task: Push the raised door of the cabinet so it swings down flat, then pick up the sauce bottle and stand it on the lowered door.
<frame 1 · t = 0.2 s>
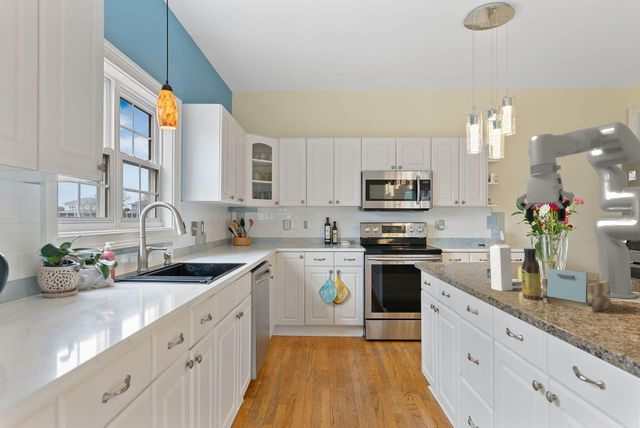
hand: (545, 221, 115), 31 cm above the table, tool pointing down, fingers open, 9 cm apart
sauce bottle: (531, 298, 133), on the table
coffee box: (499, 284, 164), on the table
cabinet: (576, 304, 121), on the table
door: (565, 284, 119), point 8 cm above the table, hinge at 97.0°
milk: (501, 289, 151), on the table
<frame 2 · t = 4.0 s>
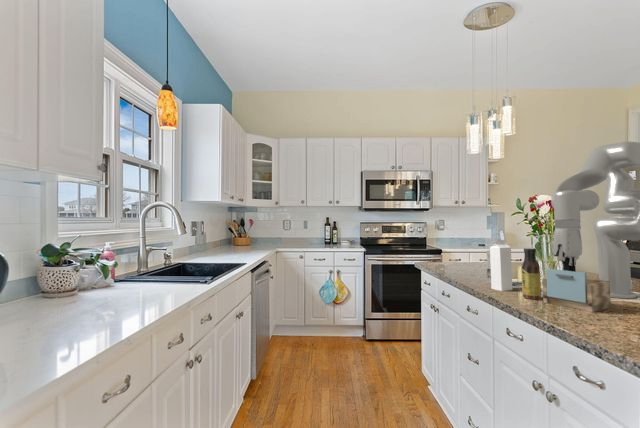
hand: (569, 276, 120), 11 cm above the table, tool pointing down, fingers closed
door: (565, 284, 119), point 8 cm above the table, hinge at 91.8°, touching gripper
everything else where it was.
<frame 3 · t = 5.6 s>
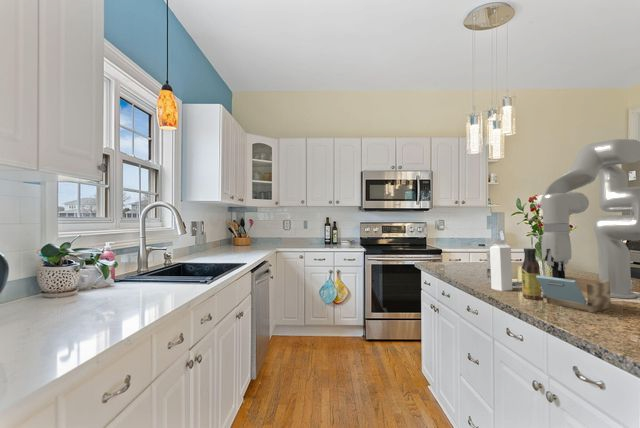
hand: (558, 281, 117), 9 cm above the table, tool pointing down, fingers closed
door: (559, 289, 117), point 6 cm above the table, hinge at 52.2°, touching gripper
everything else where it was.
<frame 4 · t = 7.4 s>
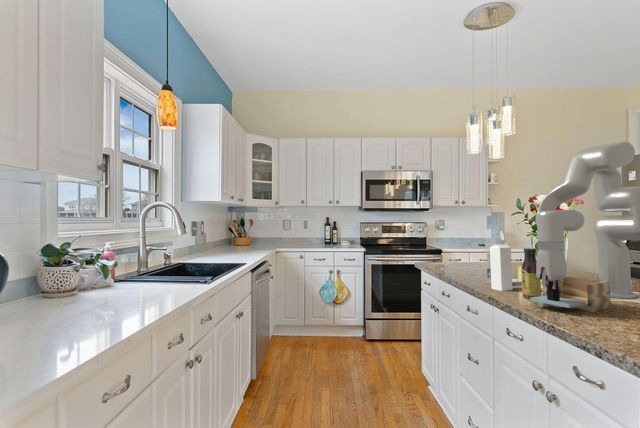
hand: (553, 300, 116), 3 cm above the table, tool pointing down, fingers closed
door: (557, 302, 117), point 2 cm above the table, hinge at 2.7°, touching gripper
everything else where it was.
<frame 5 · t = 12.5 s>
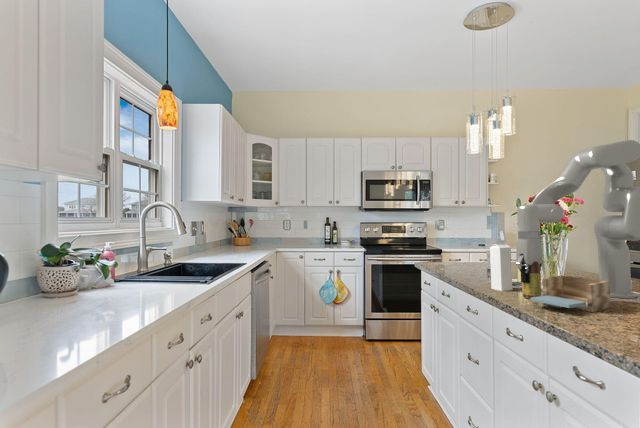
hand: (530, 281, 133), 7 cm above the table, tool pointing down, fingers closed on sauce bottle, 6 cm apart
sauce bottle: (531, 298, 133), on the table, touching gripper
door: (557, 302, 117), point 2 cm above the table, hinge at 2.7°
everything else where it was.
when the fingers open (10 cm above the table, at t = 18.2 s): sauce bottle stays where it is, resting on door.
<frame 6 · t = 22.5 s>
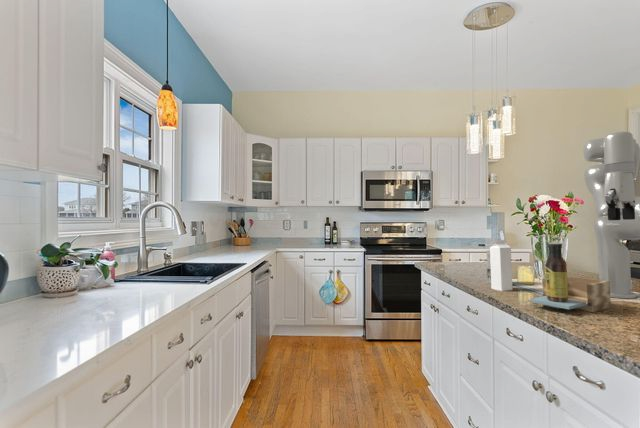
hand: (621, 219, 114), 30 cm above the table, tool pointing down, fingers open, 9 cm apart
sauce bottle: (557, 301, 117), point 3 cm above the table, touching door
door: (557, 303, 117), point 2 cm above the table, hinge at -0.1°, touching sauce bottle
everything else where it was.
at the end: door at +0° (first picture: +97°); sauce bottle inside the target area on the door (0.7 cm from its centre), point 0.3 cm above the door's base; sauce bottle tilted 0° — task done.
